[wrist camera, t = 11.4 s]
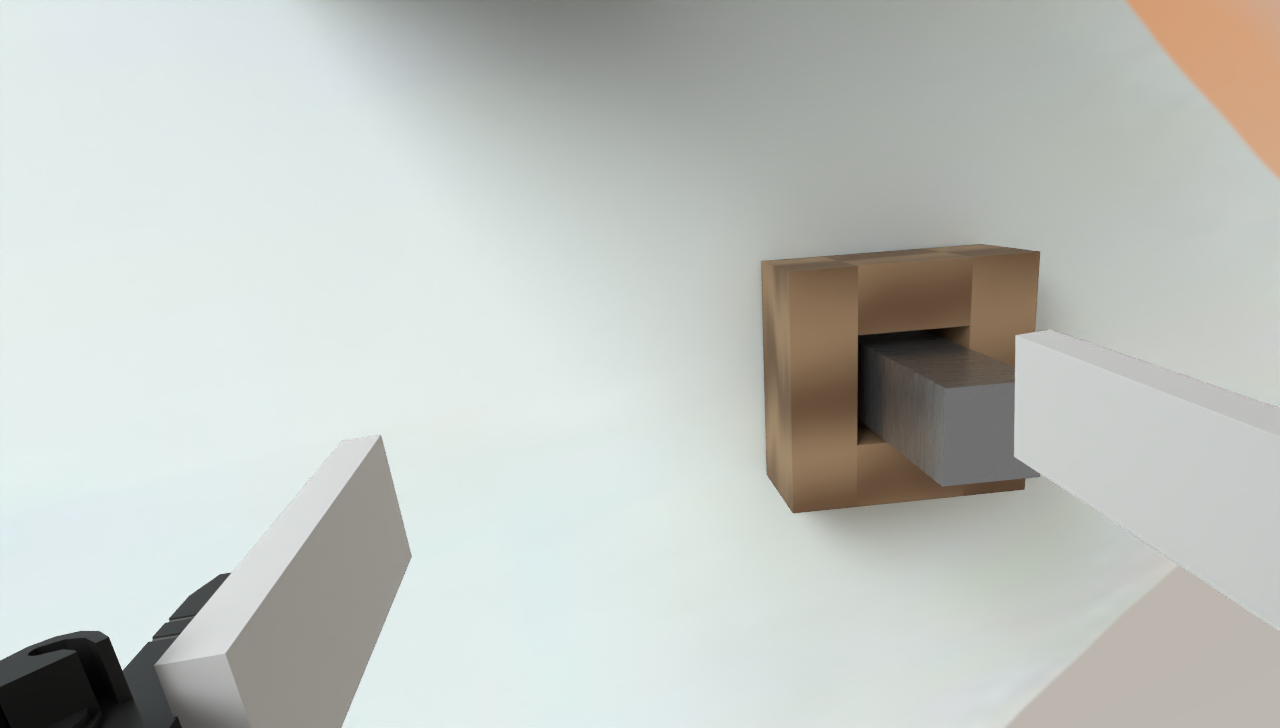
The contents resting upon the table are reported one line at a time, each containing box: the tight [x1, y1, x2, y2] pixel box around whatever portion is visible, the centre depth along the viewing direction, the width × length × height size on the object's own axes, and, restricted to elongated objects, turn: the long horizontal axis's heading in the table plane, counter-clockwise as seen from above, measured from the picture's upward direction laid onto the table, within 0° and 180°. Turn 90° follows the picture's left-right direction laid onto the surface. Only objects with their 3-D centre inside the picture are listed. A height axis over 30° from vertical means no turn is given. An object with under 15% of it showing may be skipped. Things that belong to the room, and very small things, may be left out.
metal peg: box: [857, 330, 1040, 487], centre depth 34 cm, size 4×4×12 cm
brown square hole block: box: [761, 244, 1040, 513], centre depth 37 cm, size 12×12×5 cm
